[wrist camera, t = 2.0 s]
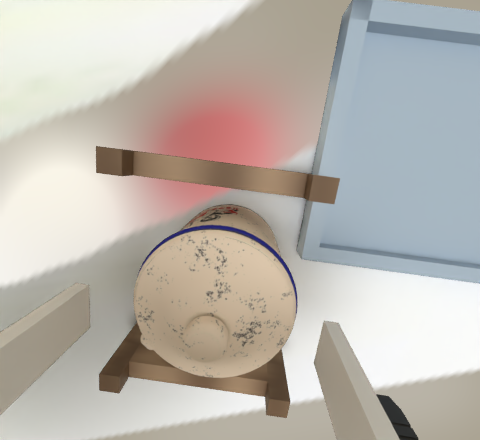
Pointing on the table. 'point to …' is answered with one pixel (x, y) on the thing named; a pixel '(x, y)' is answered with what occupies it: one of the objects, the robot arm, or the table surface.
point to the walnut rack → (223, 175)
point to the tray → (401, 144)
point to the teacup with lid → (216, 295)
